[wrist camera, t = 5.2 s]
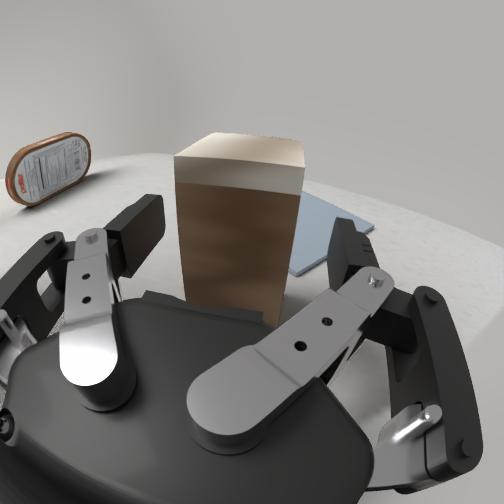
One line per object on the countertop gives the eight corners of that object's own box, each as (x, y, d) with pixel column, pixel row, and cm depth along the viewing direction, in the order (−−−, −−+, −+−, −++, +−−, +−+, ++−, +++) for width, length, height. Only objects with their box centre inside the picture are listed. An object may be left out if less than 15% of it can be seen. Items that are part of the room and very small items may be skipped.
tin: (86, 174, 37) (81, 126, 33) (97, 176, 37) (91, 125, 32) (12, 214, 26) (-1, 157, 21) (19, 218, 25) (5, 157, 20)
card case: (191, 339, 14) (173, 155, 9) (213, 283, 19) (213, 132, 13) (271, 353, 14) (304, 167, 8) (279, 293, 18) (302, 140, 13)
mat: (296, 276, 20) (296, 272, 19) (199, 210, 27) (199, 207, 27) (373, 228, 27) (374, 225, 27) (285, 186, 35) (286, 183, 35)
